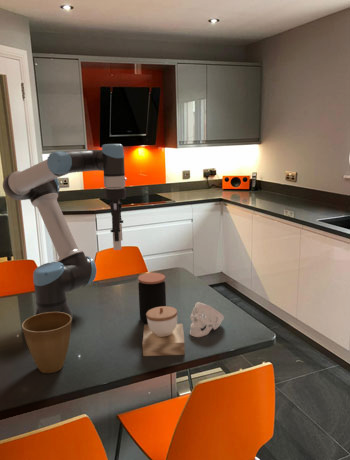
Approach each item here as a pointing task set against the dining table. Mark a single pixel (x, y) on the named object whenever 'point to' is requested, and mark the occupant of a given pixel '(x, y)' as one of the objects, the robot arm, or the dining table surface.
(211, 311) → the skull bowl
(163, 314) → the lidded jar
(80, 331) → the dining table surface
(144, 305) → the coffee jar
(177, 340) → the beech block
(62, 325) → the plant pot
